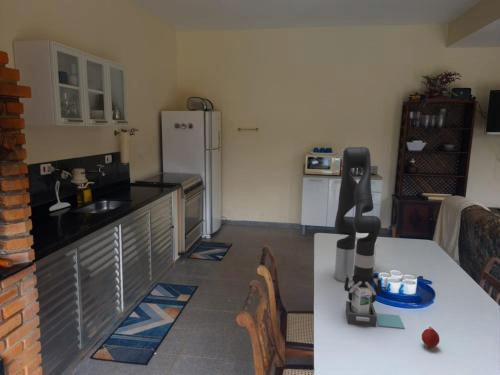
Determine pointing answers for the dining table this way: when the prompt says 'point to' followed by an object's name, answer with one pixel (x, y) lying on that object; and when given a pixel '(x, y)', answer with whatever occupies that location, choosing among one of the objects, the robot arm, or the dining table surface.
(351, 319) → the gray frame
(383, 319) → the teal mat
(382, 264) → the dining table surface
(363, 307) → the syrup box
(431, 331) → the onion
